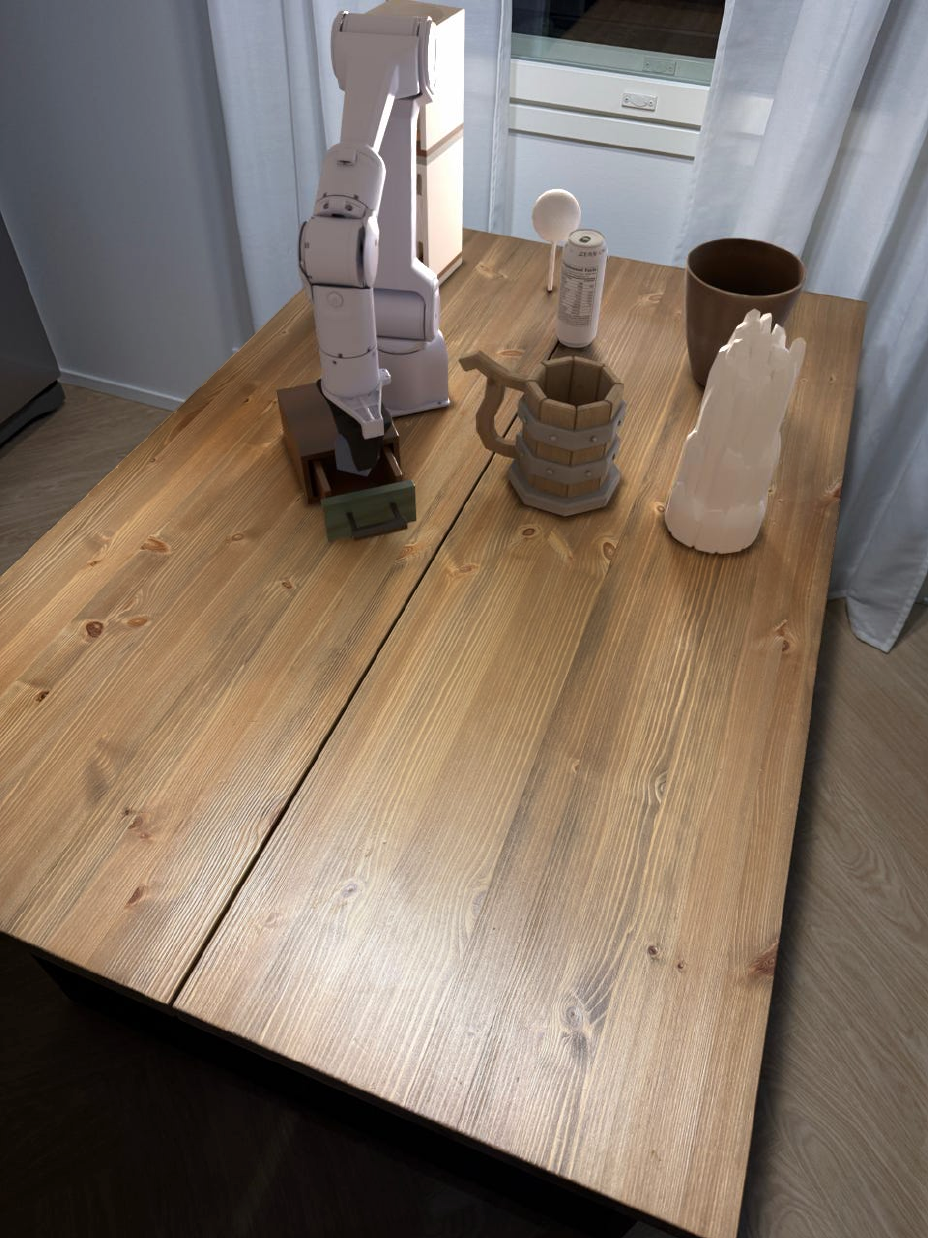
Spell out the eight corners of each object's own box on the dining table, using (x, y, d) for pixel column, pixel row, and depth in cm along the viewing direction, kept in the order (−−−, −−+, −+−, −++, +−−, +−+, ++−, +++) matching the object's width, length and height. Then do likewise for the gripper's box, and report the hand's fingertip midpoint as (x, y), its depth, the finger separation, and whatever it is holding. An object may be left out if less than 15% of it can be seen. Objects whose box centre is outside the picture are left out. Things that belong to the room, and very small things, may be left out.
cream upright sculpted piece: (758, 560, 100) (829, 367, 81) (662, 546, 101) (710, 352, 82) (757, 497, 107) (822, 306, 88) (667, 485, 108) (712, 293, 89)
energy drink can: (603, 335, 130) (617, 234, 119) (582, 354, 127) (595, 252, 115) (567, 322, 132) (578, 222, 121) (546, 340, 129) (555, 239, 118)
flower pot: (750, 420, 117) (785, 308, 105) (646, 384, 122) (667, 274, 110) (787, 365, 125) (822, 256, 113) (688, 334, 130) (712, 227, 118)
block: (336, 469, 97) (333, 443, 95) (350, 450, 100) (347, 423, 97) (367, 476, 97) (364, 450, 94) (379, 456, 99) (377, 430, 96)
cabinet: (401, 483, 108) (399, 436, 103) (308, 504, 105) (300, 456, 100) (371, 419, 116) (367, 372, 111) (284, 436, 114) (275, 389, 108)
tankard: (628, 464, 111) (648, 358, 99) (595, 527, 103) (612, 420, 92) (482, 422, 116) (485, 317, 105) (440, 479, 109) (438, 372, 97)
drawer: (427, 544, 100) (426, 509, 96) (337, 566, 97) (332, 531, 93) (386, 455, 110) (383, 420, 106) (303, 473, 108) (297, 438, 104)
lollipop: (573, 279, 141) (583, 181, 129) (572, 302, 136) (583, 203, 125) (528, 276, 141) (534, 179, 130) (525, 299, 136) (532, 200, 125)
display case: (404, 248, 147) (393, -3, 120) (462, 262, 144) (464, 8, 117) (369, 279, 140) (350, 20, 114) (429, 295, 137) (424, 33, 111)
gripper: (411, 373, 83) (415, 484, 94) (364, 298, 92) (372, 407, 103) (338, 389, 82) (351, 501, 92) (297, 311, 90) (313, 421, 101)
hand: (358, 453), depth 97 cm, fingers closed on block, 5 cm apart
